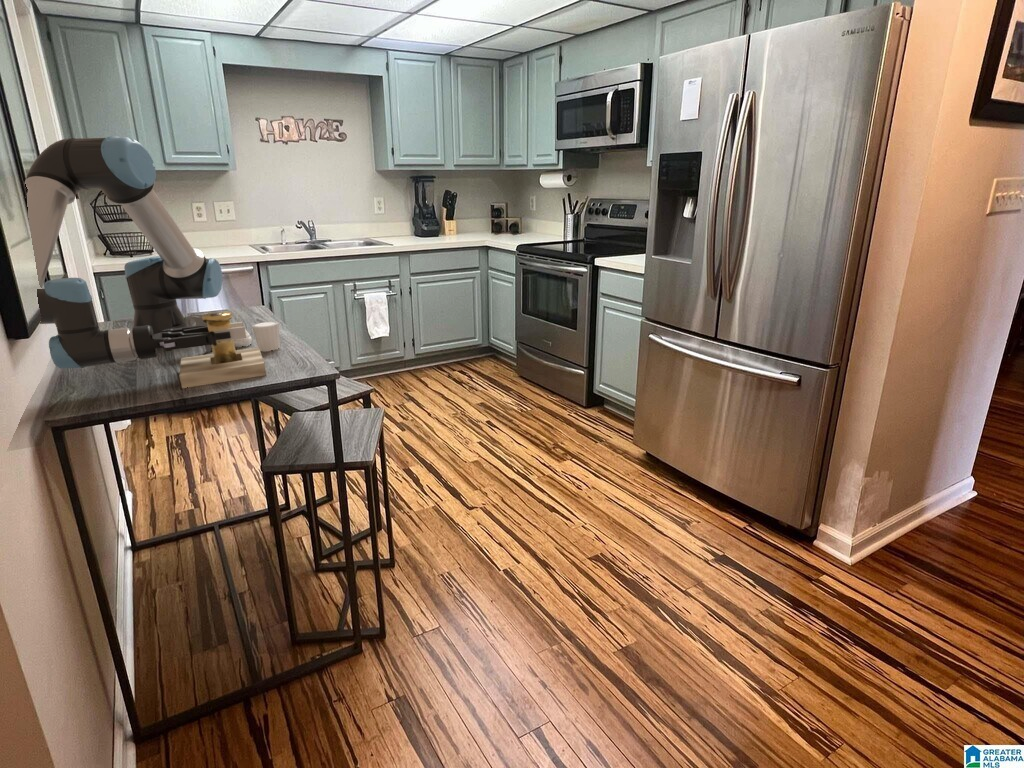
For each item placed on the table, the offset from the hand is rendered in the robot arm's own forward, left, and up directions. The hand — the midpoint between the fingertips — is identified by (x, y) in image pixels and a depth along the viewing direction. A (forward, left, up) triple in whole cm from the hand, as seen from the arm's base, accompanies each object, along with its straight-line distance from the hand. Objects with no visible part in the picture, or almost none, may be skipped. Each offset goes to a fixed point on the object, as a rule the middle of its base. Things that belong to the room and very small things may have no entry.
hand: (244, 329), depth 146 cm
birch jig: (+1, -6, -10) cm, 11 cm away
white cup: (-16, +6, -10) cm, 20 cm away
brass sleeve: (0, -5, -7) cm, 9 cm away
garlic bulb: (-24, -1, -10) cm, 26 cm away
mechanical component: (-22, -9, -10) cm, 26 cm away
